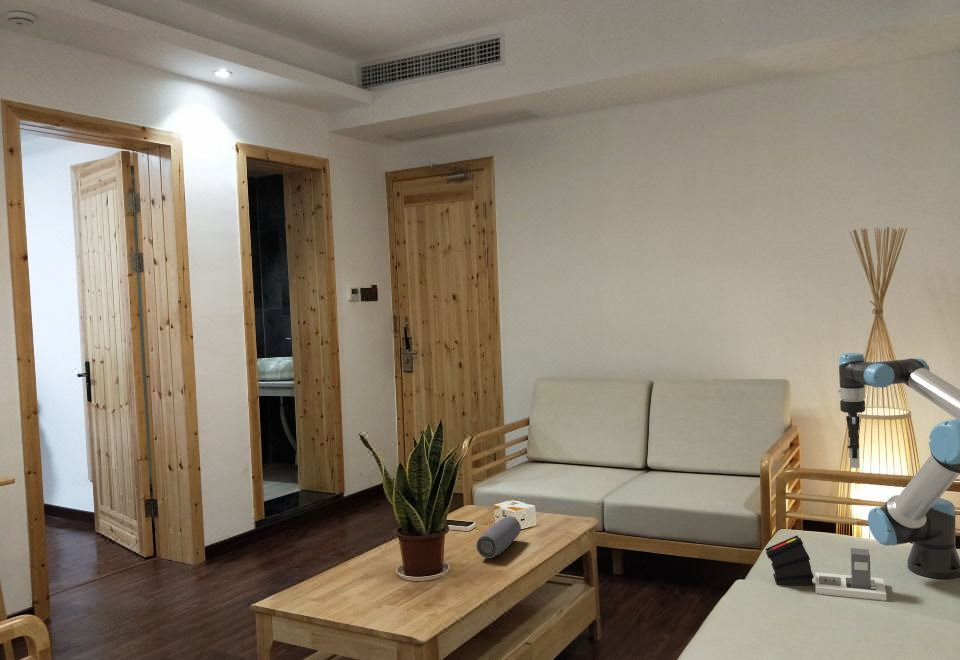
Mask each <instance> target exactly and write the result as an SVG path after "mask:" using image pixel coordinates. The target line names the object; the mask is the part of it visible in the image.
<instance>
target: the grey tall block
mask: <svg viewBox="0 0 960 660" xmlns="http://www.w3.org/2000/svg"><path fill="white" fill-rule="evenodd" d="M849 549H850V575H851V584H850V585H851V586H850V587H851V588H855V589H866V590H872V586H871V577H872V576H871V554H870V550H869V548H852V547H850V548H849Z"/></svg>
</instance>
